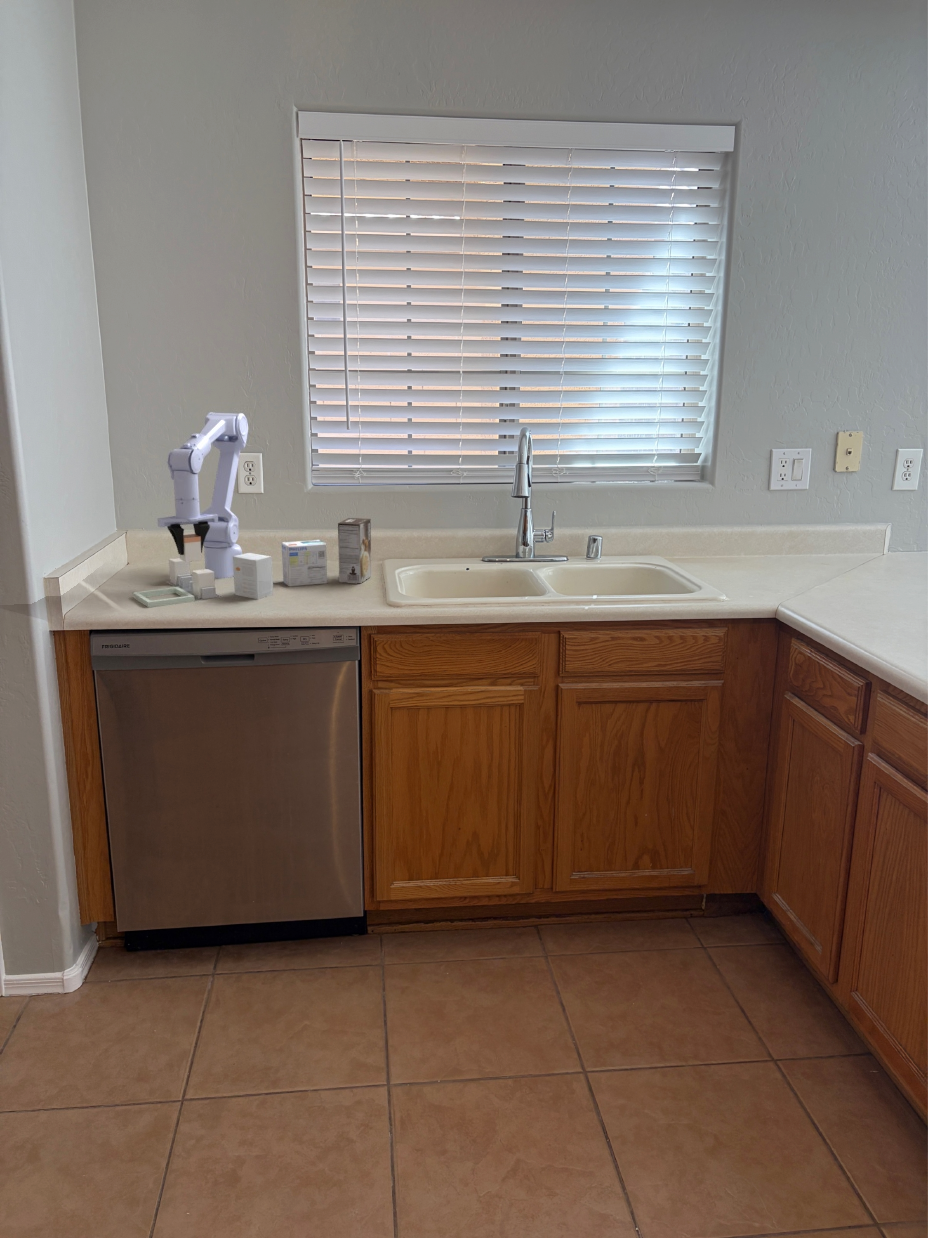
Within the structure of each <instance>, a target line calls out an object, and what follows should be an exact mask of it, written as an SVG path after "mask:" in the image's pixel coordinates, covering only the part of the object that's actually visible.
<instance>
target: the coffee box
mask: <svg viewBox="0 0 928 1238" xmlns="http://www.w3.org/2000/svg"><path fill="white" fill-rule="evenodd" d="M337 530H338V532H337V533H338V534H337V536H338V538H337V539H338V541H337V542H338V543H337V544H338V548H337V549H338V579H339V580H338V581H339V583H342V582H349V583H348V584H357V583H361V584H363V583H364V582H365V581H366V579H367V580H368V579H370V578H371V577H372V534H371V533H372V532H371V530H372V529H371V518H363V517H362V518H359V517H348V518H346V519H344V520H341V521H340V522H338V523H337ZM362 582H363V583H362Z"/></svg>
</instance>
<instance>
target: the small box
mask: <svg viewBox="0 0 928 1238" xmlns="http://www.w3.org/2000/svg"><path fill="white" fill-rule="evenodd" d="M272 562H273V558H272V556H270V555H265V554H264V555H263V554H257V553H254V552H246V553H242V554H241V555H236V556H233V571H234V577H233V581H234V582H233V583H234V584H233V585H234V595H235V596H240V597H245V598H249V599H255V600H261V599H265V598H267V597H271V596H274V581H273V578H274V576H273V575H274V574H273V563H272Z"/></svg>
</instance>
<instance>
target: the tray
mask: <svg viewBox="0 0 928 1238" xmlns="http://www.w3.org/2000/svg"><path fill="white" fill-rule="evenodd" d="M171 594H173V595H174V594H177V595H178V596H176V597H171V598H164V599H155V600H150V599H149V598H147V597H156V596H162V595H163V596H165V595H171ZM132 598H133V599H135V600H137V601H138V602H139V603H141V604H142V605H144V606H146V607H147V608H154V607H155V608H156V607H163V606H169V605H176V604H177V605H179V604H184V603H192V602H195V600H196V599H195V598H194V596H193V595H191V594H190V593H188V592H186V591H184V590H183V589H181V588H179V587H174V586H172V587H166V588H159V589H152V590H151V589H149V590H144V591H143V590H142V591H134V592H132Z"/></svg>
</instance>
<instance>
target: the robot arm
mask: <svg viewBox="0 0 928 1238" xmlns="http://www.w3.org/2000/svg"><path fill="white" fill-rule="evenodd" d="M248 433H249V425H248V419H247V417H246V416H245V414H244V413H242V412H238V413H227V412H213V411H212V412H211V411H210V412H208V413H207V415H206V416H205V419H204V426H203V428H202V429H201V431H200V432H199V433H192V434H191V435H190V436H189V438H188V439H187V440H186V441H185V442H184V443H183V444H182V445H181V446H180V447H179V448H174V449H172V450H171V451H170V452H169V453H168V456H167V457H168V458H167V461H166V462H167V468H168V469H169V472H170V478H171V480H172V481H173V492H174V509H175V515H173V516H172V515H171V516H167V517H159V518H156V519H157V526H158V527H159V528H165V527H167V530H168V531H169V532H170V535H171V537H172V539H173V541H174V543H175V546H176V549H177V554H178V555H179V556H180V555H184V545H183V535H185V528H183V527H182V526H185V525H193V531H194V534H196V535H198V536H200V537H201V554H204V569H209V570H211V571H213V572H214V578H215V580H216V579H217V580H218V579H227V578H232V577H233V578H234V571H233V556H236V555H241V554H243V551H242V547H241V546H240V545H239V544H238V543H237V541H238V540H239V535H240V533H239V532H240V531H239V523H240V522H239V521H240V520H239V517H237V516H236V514H235V513H233V511H231V508H232V502H233V495H234V490H235V485H236V484H235V483H236V478H237V473H238V467H239V462H240V461H239V460H240V456H241V455H240V454H241V450H243V449H245V447H246V443H247V440H248ZM212 445H213V447H214V448H216V449H218V450H219V452H220V453H219V458H218V464H217V471H216V476H215V480H214V487H213V493H212V498H211V503H210V504H211V505H210V506H209V508H207V509H206V510H204V511H203V512H200V510H201V509H200V492H199V472H201V470H202V465H203V463H204V459H205V457H207V456H208V455H209V453H210V452H211V450H212Z"/></svg>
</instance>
